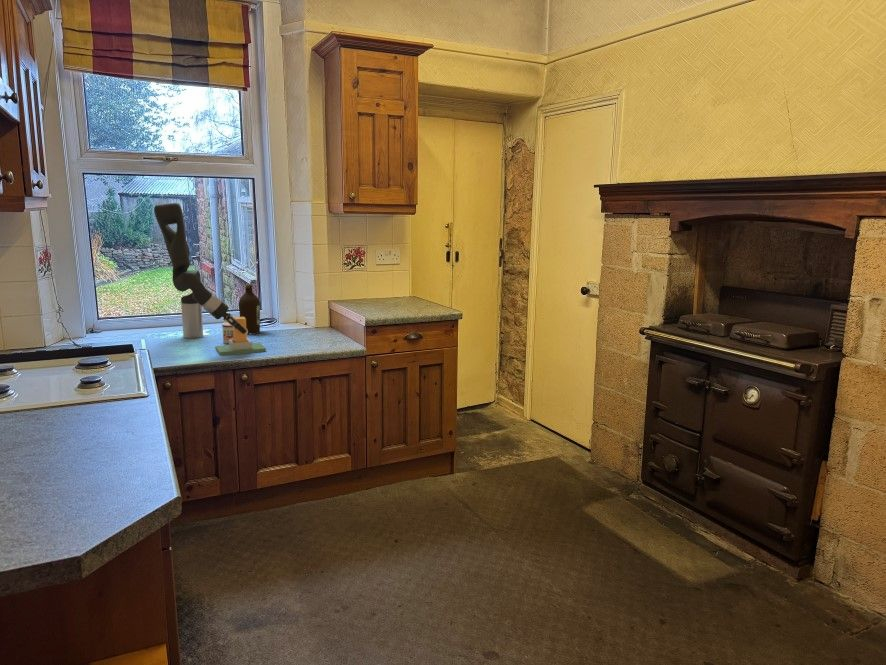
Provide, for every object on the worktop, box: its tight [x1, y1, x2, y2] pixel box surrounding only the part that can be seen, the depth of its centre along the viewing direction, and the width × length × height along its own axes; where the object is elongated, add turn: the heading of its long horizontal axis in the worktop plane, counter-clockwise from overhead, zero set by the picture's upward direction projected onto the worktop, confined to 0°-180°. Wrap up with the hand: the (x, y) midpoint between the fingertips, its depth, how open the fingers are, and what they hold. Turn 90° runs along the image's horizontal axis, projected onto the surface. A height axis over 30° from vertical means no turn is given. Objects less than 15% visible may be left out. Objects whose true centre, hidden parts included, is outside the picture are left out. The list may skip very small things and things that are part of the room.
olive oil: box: [238, 284, 261, 334], centre depth 314 cm, size 11×11×25 cm
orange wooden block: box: [233, 316, 248, 343], centre depth 276 cm, size 5×5×11 cm
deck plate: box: [214, 337, 267, 356], centre depth 278 cm, size 13×20×4 cm, turn 118°
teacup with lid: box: [221, 321, 249, 345], centre depth 293 cm, size 12×9×12 cm
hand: (243, 331), depth 277 cm, fingers closed on orange wooden block, 5 cm apart
